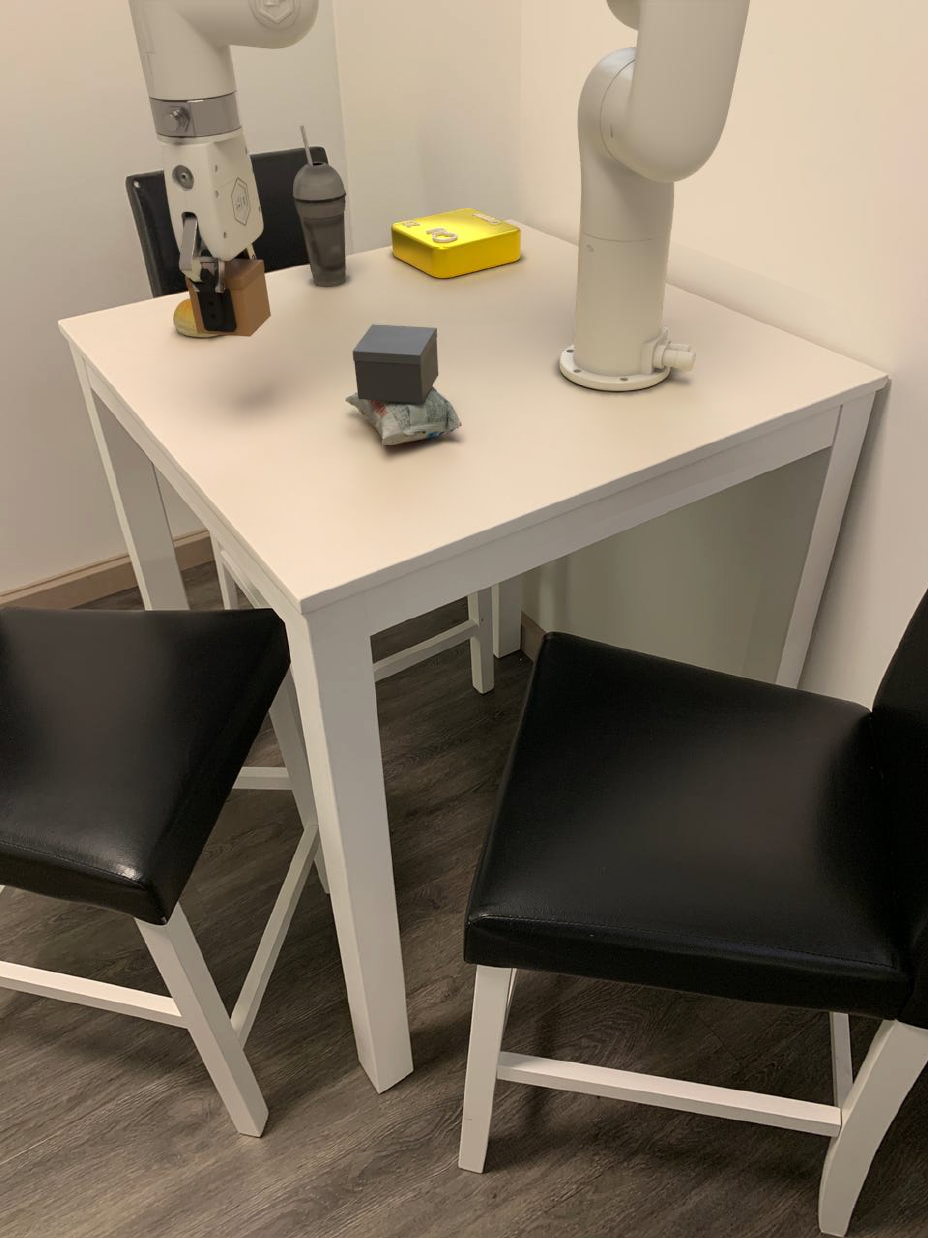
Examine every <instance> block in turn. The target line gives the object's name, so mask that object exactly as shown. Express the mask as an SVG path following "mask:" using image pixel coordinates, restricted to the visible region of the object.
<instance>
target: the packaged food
mask: <svg viewBox="0 0 928 1238" xmlns="http://www.w3.org/2000/svg"><path fill="white" fill-rule="evenodd" d="M345 402H347V403H348V404H350V406H353V407H355V408H356V409H357V410H358V412H359V413H360V414H361V415H363V416H364V417H365V418H366V419H367V420H368V421H369V422H371V424H372V426H373V427H375V429H376V431H377V432H378V435H379V436H380V438H381V444H382V445H383V446H386V445H388V446H393V445H400V444H405V443H411V442H415V441H421V440H426V439H431V438H436V437H441V436H446V435H448V434H451V433H452V432H454V431H455V430H457V429H459V428H460V427H462V426H463V423H462V421H461V420H460V417H459V416H458V414H457V412H456V410H455V408H454V406H453V405H452V402H451V401H449V400H448V399H447V398H446V397H444V396H443V395H442V394H441V393H439V392H438V390H437V389H436V388H435V387H434V385H433V386H432V388H431V390H430V391H429V393H428V395H427V397H426V399H425V401H424V402H423V404H421V403H407V402H392V401H378V400H364V399H358V391H357V392H354V393H353V394H351V395H347V396H346V397H345Z"/></svg>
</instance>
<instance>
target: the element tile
mask: <svg viewBox="0 0 928 1238" xmlns="http://www.w3.org/2000/svg"><path fill="white" fill-rule="evenodd" d="M390 233H391V247H392V254H393V256H394V257H395V258H396V259H399V260H400V261H403V262H405V263H406V264H408V265H411V266H413V267H414V268H416V269H418V270H420V271H422V272H424V273H426V274H428V275H429V276H431V277H433V278H436V279H450V278H451V279H452V278H455V277H460V276H463V275H466V274H472V273H475V272H479V271H483V270H487V269H491V268H494V267H498V266H503V265H507V264H511V263H515V262H517V261H519V260H520V258H521V253H522V251H521V250H522V249H521V248H522V230H521V228H520V227H519V226H516V225H514V224H511V223H509V222H506V221H504V220H501V219H500V218H497V217H494V216H492V215H489V214H487V213H485V212H483V211H480V210H478V209H474V208H472V207H464V208H463V207H462V208H459V209H455V210H449V211H444V212H439V213H436V214H431V215H426V216H422V217H416V218H413V219H408V220H403V221H399V222H395V223H393V224H392V225H391V226H390Z"/></svg>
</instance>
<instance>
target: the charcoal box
mask: <svg viewBox="0 0 928 1238" xmlns="http://www.w3.org/2000/svg"><path fill="white" fill-rule="evenodd" d="M437 338H438V328H437V327H428V326H427V327H425V326H410V325H409V326H408V325H391V324H374V323H372V324H371V325H370V326H369V328H368V329H367V331H365V334H364V335H363V336H362V338H361V339H360V340H359V342H358V343H357V344H356V346H355V347H354V348H353V350H352V359H353V363H354V371H355V373H354V374H355V380H356V389H357V390H356V391H357V393H358V399H364V400H378V401H392V402H407V403H421V404H423V402H424V401H425V399H426V397H427V395H428V393H429V391H430V390H431V388H432V386H433V387H434V384H435V382H436V381H437V378H438V376H439V360H438V339H437Z"/></svg>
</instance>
